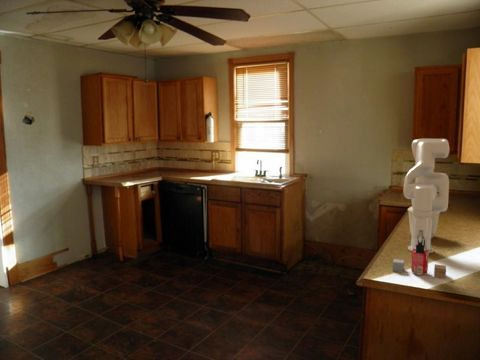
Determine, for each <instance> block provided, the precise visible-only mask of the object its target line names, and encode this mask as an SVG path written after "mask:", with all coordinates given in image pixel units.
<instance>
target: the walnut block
mask: <svg viewBox="0 0 480 360" xmlns="http://www.w3.org/2000/svg"><path fill="white" fill-rule="evenodd" d="M446 272H447V265H445V264H436V263H435V264H434V270H433V278H437V279H444V280H445V279H446V276H447V275H446V274H447V273H446Z"/></svg>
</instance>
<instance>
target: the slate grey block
mask: <svg viewBox="0 0 480 360" xmlns="http://www.w3.org/2000/svg"><path fill="white" fill-rule="evenodd" d="M404 271H405V259H397V258H393V261H392V272H396V273H402V274H404Z"/></svg>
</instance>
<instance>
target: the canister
mask: <svg viewBox="0 0 480 360" xmlns="http://www.w3.org/2000/svg"><path fill="white" fill-rule="evenodd" d="M407 211H408V220H409V221H408V222H409V232H410V235H411V236H412V216H413V212H412V206H409V207H408V208H407ZM440 213H441V212H437V211H432V212H431V219H432V228H431V239H433V238H434V237H435V235H436V232H437V228H438V223H439V218H440V217H439V216H440Z"/></svg>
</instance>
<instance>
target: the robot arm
mask: <svg viewBox="0 0 480 360" xmlns="http://www.w3.org/2000/svg"><path fill="white" fill-rule="evenodd" d="M449 144H450V143H449V140H448V139H446V138H418V139H414V140H412V142H411V150H412V151H411V152H412V156H413V158H414V159H415V162H414V163H415V166H413V167H412V168H410V169H409V171H407V173H406V175H405V177H404V181H403V189H402V190H403V192H402V193H403V196H404V198H406V199H408V200H411V207H412V212H413V216H412V235H411V239H410V240H411V241H410V245H408V246H407V250H409V252H412V250H413V249H414V247H415V246H416V253H419V254H424V247H426V248H427V251H428V253H429V254H433V253H434V248H433V247H431V244H432V238H431V228H432V219H431V212H432V211H437V212H440V213H441V212H442V213H443V212H446V211H447V210H448V206H449V195H450V194H449V193H450V191H449V190H450V179H449V176H448V175H447V173H444V172H435V171H434V169H435V165H436V164H435V163H436V161H435V160H436V159H446V158H448V156H449V154H450V145H449ZM414 179H415V183H414V182H412V181H413V180H414Z"/></svg>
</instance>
